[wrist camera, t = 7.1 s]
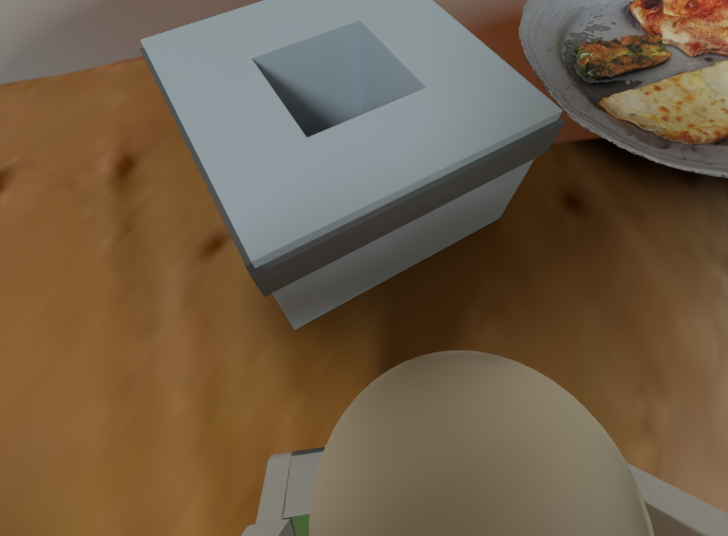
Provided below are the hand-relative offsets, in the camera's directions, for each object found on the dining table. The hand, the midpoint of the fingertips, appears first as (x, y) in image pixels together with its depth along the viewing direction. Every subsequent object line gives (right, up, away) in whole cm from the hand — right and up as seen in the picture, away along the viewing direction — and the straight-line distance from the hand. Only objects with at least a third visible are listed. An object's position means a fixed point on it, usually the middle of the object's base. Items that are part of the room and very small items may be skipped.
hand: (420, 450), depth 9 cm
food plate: (+23, +20, +20) cm, 37 cm away
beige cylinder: (0, -3, +5) cm, 5 cm away
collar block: (-3, +10, +15) cm, 18 cm away
